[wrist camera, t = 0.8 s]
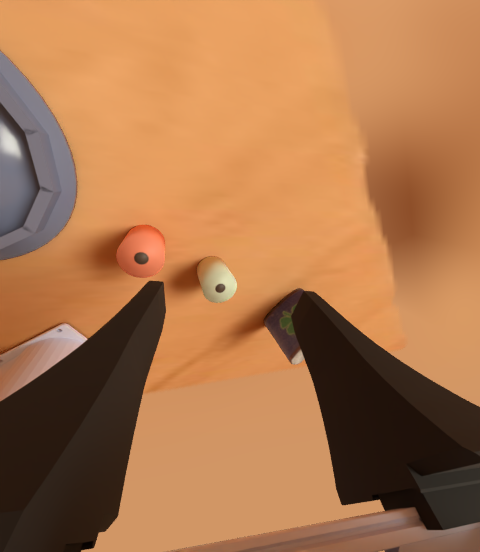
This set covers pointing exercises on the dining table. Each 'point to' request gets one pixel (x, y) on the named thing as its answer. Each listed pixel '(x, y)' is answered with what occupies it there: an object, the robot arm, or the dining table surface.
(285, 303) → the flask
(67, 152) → the round tray
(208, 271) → the sage bead
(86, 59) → the dining table surface
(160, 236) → the vermilion bead
